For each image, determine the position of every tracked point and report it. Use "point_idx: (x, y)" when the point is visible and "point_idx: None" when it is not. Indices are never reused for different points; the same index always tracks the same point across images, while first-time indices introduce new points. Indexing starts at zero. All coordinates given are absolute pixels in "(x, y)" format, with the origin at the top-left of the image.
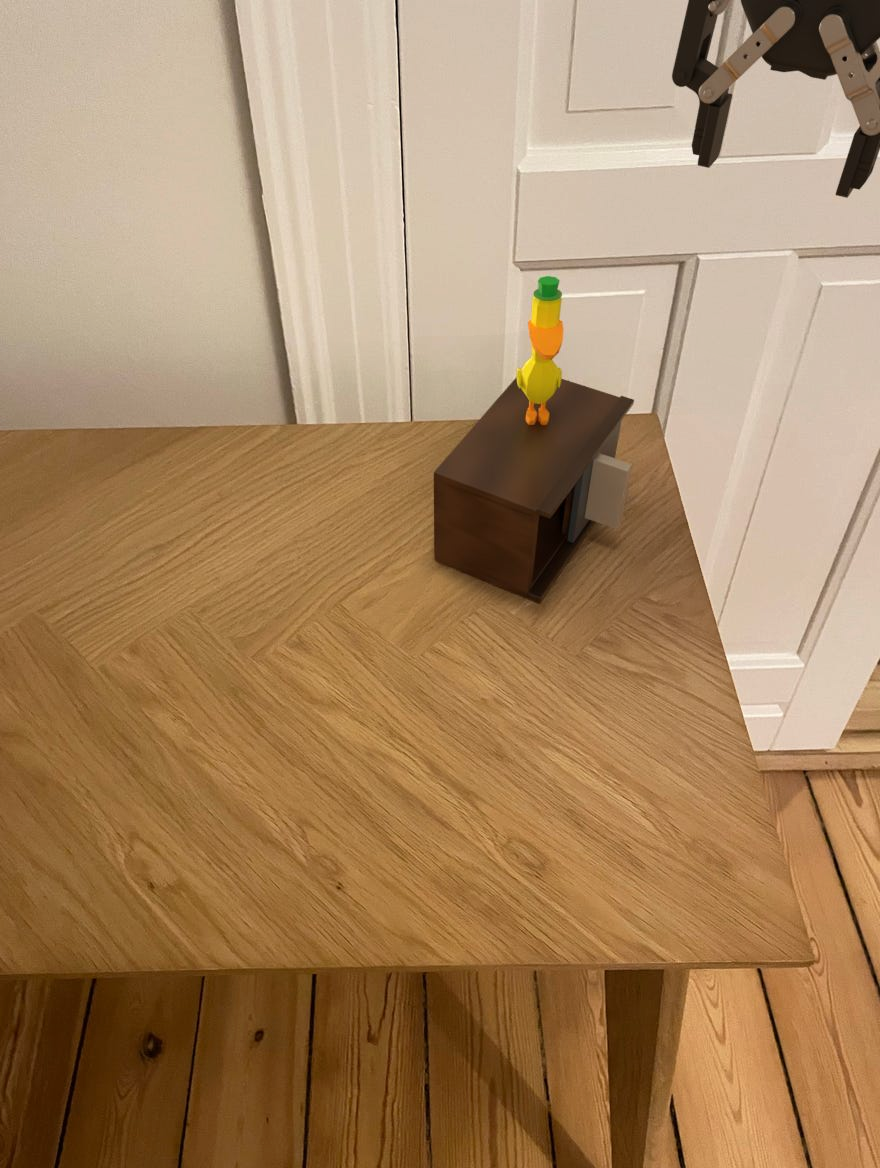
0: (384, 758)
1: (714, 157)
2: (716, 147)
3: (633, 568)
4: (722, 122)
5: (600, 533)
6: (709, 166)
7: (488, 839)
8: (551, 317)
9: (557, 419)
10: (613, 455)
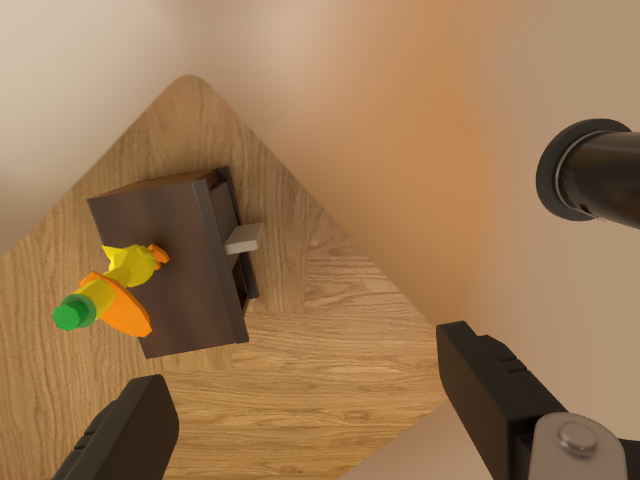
0: (267, 421)
1: (166, 404)
2: (158, 423)
3: (288, 229)
4: (132, 466)
5: (248, 214)
6: (177, 418)
7: (337, 420)
8: (106, 308)
9: (170, 246)
10: (219, 193)
